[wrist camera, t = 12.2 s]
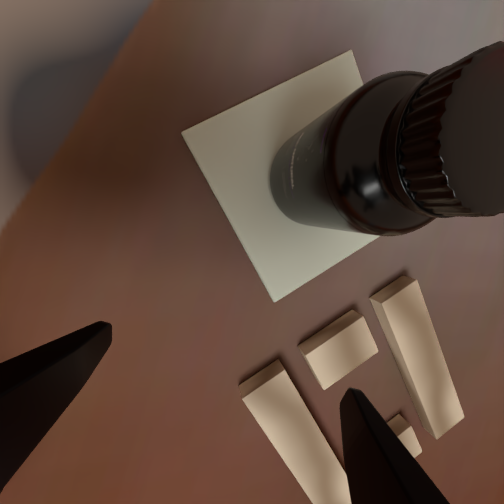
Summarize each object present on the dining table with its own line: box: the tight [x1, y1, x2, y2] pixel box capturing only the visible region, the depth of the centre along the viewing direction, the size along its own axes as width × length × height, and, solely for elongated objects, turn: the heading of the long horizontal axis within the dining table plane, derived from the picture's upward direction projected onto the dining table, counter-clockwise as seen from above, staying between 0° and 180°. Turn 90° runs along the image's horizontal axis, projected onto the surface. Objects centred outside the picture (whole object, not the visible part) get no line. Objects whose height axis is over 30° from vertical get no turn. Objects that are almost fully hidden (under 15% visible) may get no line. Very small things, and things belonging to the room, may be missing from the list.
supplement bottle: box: [270, 41, 504, 236], centre depth 13 cm, size 7×7×12 cm
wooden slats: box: [239, 275, 464, 504], centre depth 23 cm, size 18×18×2 cm
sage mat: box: [181, 50, 379, 303], centre depth 19 cm, size 14×14×1 cm
